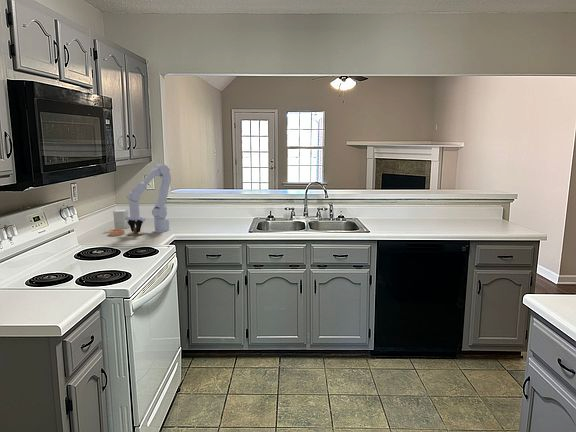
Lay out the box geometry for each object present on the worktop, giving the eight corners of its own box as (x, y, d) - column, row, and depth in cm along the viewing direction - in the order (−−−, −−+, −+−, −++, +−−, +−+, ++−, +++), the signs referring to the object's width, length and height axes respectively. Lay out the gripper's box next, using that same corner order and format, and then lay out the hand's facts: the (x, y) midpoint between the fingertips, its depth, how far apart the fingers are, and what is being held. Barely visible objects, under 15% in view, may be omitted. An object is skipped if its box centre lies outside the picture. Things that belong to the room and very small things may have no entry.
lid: (135, 232, 290) (135, 225, 289) (147, 233, 286) (146, 226, 285) (124, 235, 281) (124, 228, 280) (136, 236, 277) (136, 229, 276)
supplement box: (129, 227, 309) (128, 209, 307) (124, 229, 302) (123, 211, 300) (119, 227, 310) (118, 209, 308) (114, 229, 303) (112, 211, 301)
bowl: (116, 233, 290) (116, 228, 290) (127, 234, 287) (127, 229, 286) (106, 235, 282) (105, 231, 282) (117, 236, 279) (117, 232, 278)
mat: (136, 232, 292) (136, 231, 291) (149, 233, 287) (149, 233, 287) (124, 235, 282) (124, 235, 282) (137, 237, 277) (137, 236, 277)
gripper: (120, 210, 280) (122, 232, 282) (139, 212, 274) (140, 233, 277) (129, 209, 287) (130, 230, 289) (146, 210, 281) (148, 231, 283)
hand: (135, 231), depth 283 cm, fingers open, 4 cm apart
